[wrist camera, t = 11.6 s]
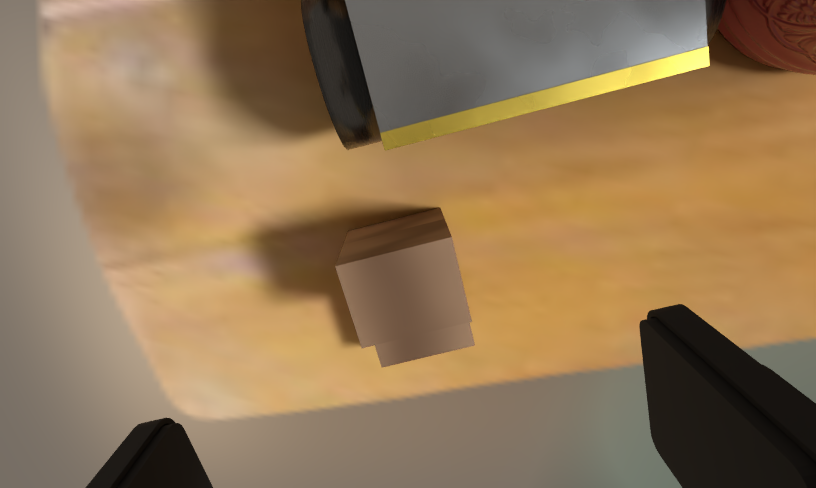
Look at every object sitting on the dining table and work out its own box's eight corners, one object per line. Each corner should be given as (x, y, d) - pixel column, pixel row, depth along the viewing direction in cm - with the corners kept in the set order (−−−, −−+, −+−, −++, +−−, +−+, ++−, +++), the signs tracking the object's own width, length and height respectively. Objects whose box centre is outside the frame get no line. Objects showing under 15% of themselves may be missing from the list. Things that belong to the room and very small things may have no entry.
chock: (439, 207, 24) (451, 237, 19) (467, 323, 26) (485, 378, 21) (348, 230, 24) (335, 266, 19) (383, 343, 27) (379, 403, 21)
